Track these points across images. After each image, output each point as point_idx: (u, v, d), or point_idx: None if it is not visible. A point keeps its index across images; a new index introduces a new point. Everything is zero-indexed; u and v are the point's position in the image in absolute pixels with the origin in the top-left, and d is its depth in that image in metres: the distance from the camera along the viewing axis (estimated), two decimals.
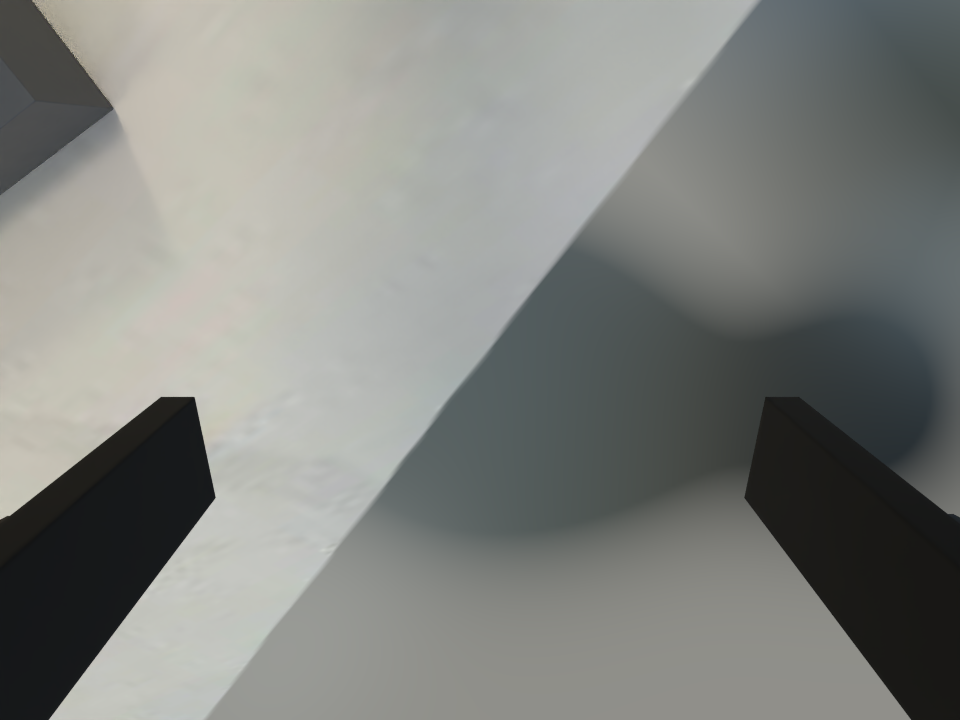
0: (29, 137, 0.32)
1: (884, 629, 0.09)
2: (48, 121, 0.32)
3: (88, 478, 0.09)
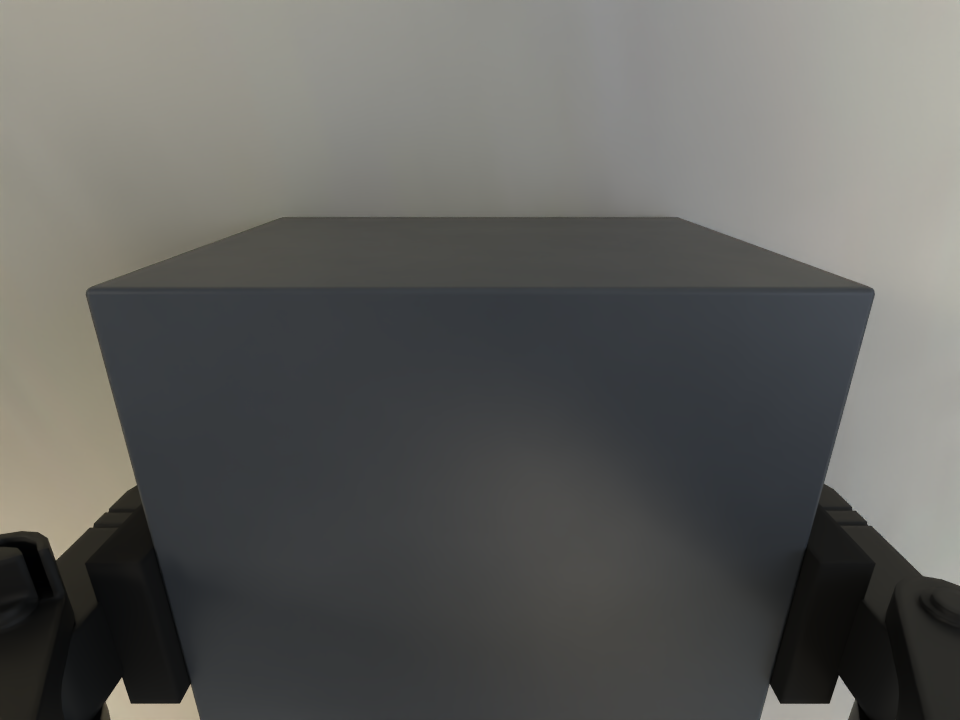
0: None
1: None
2: None
3: None
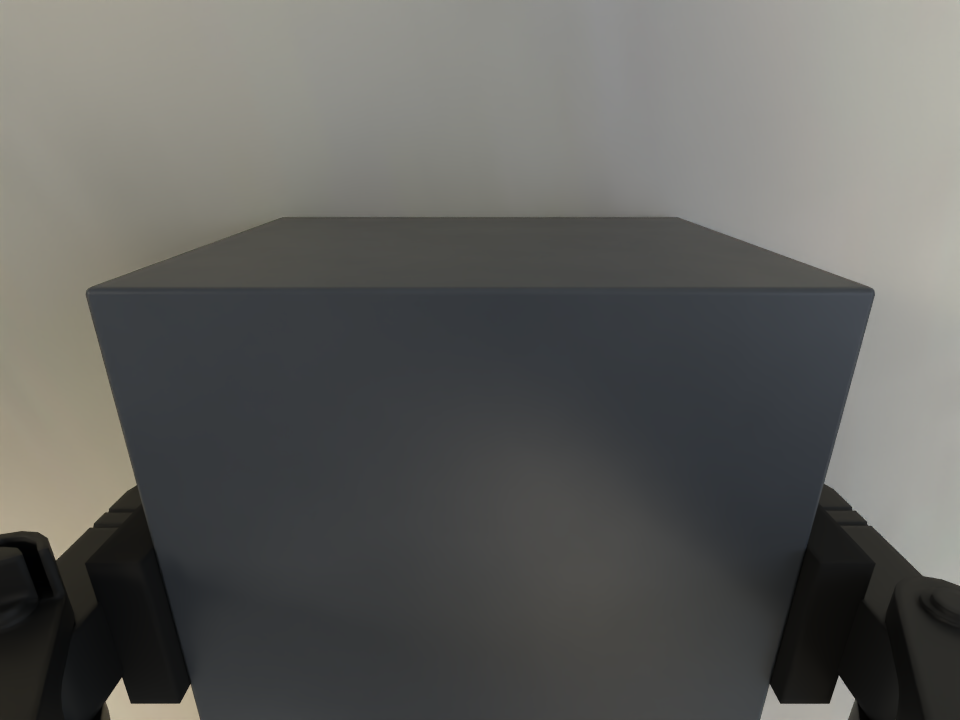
0: None
1: None
2: None
3: None
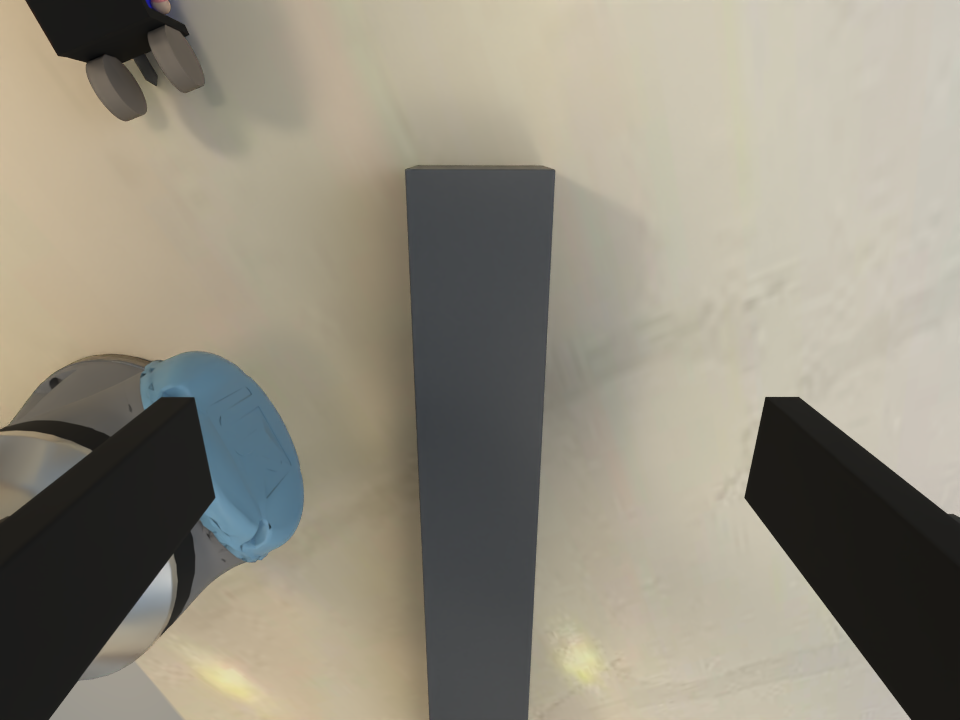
0: None
1: (884, 629, 0.09)
2: None
3: (88, 478, 0.09)
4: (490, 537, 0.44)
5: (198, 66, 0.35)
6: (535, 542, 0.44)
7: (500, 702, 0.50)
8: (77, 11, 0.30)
